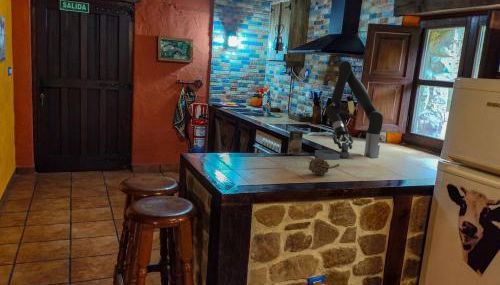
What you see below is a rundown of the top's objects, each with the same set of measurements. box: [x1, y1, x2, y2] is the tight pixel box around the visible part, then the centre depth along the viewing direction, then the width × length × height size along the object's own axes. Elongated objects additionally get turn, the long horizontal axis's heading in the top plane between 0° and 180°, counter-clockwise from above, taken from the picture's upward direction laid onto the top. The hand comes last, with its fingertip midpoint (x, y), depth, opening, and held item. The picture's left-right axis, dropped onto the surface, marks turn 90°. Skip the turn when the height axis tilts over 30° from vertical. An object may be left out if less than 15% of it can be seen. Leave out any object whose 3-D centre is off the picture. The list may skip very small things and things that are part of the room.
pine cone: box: [307, 157, 340, 175], centre depth 238 cm, size 22×10×10 cm, turn 124°
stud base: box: [339, 156, 354, 160], centre depth 285 cm, size 11×11×5 cm
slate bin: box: [314, 149, 340, 162], centre depth 281 cm, size 12×13×5 cm
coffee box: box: [287, 130, 304, 156], centre depth 290 cm, size 9×6×16 cm
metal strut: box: [339, 142, 350, 158], centre depth 284 cm, size 4×4×10 cm
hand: (346, 148), depth 282 cm, fingers open, 7 cm apart
